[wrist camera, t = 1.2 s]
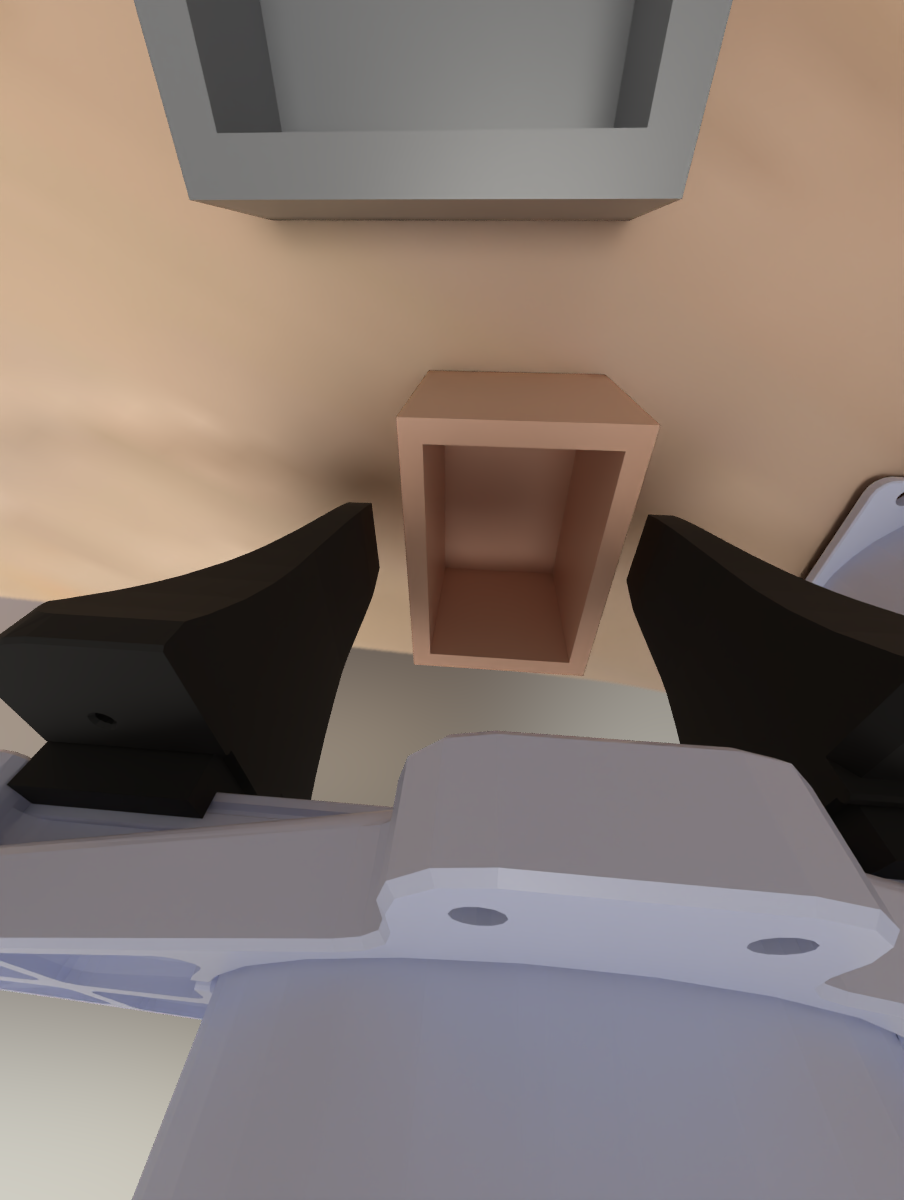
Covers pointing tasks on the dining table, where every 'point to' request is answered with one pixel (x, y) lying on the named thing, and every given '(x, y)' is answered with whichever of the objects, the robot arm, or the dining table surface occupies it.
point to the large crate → (434, 104)
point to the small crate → (516, 513)
